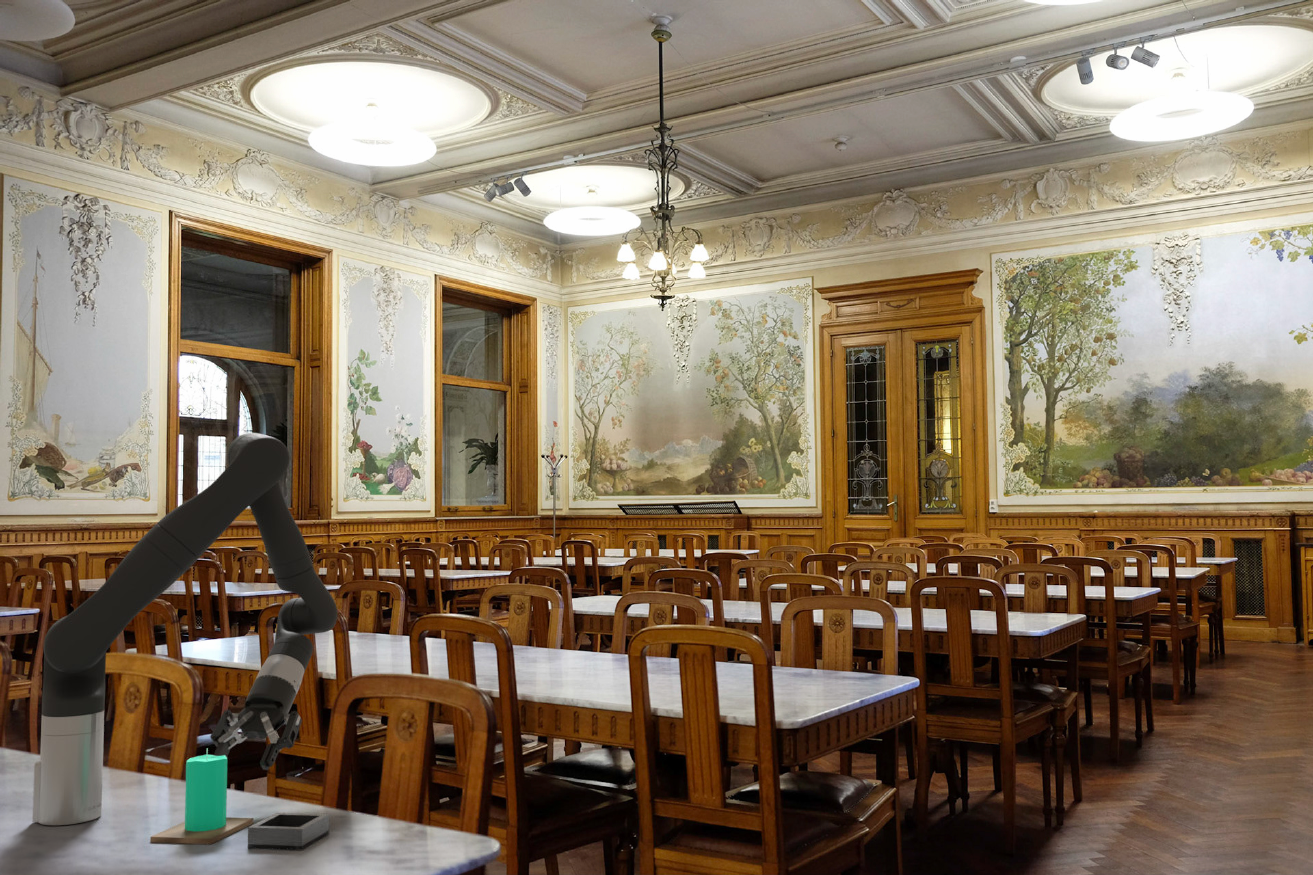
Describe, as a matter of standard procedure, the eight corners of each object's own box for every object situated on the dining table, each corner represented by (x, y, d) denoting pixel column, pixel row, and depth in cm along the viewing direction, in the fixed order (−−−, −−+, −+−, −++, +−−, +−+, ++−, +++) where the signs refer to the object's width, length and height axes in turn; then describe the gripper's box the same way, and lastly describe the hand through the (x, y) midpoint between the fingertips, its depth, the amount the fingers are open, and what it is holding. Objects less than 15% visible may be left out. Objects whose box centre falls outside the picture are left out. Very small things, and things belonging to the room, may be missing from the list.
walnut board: (150, 841, 166) (150, 836, 167) (196, 821, 178) (196, 816, 178) (211, 844, 165) (211, 838, 165) (253, 823, 177) (253, 817, 177)
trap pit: (247, 848, 162) (248, 827, 163) (277, 832, 171) (277, 812, 171) (301, 850, 161) (302, 829, 161) (328, 834, 170) (329, 814, 170)
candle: (211, 832, 169) (213, 752, 170) (176, 830, 170) (178, 751, 171) (233, 821, 174) (235, 744, 176) (199, 820, 176) (201, 743, 177)
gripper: (231, 673, 193) (191, 752, 181) (306, 673, 191) (271, 754, 179) (246, 699, 198) (209, 778, 186) (320, 700, 196) (287, 780, 184)
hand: (240, 766), depth 182 cm, fingers open, 8 cm apart
